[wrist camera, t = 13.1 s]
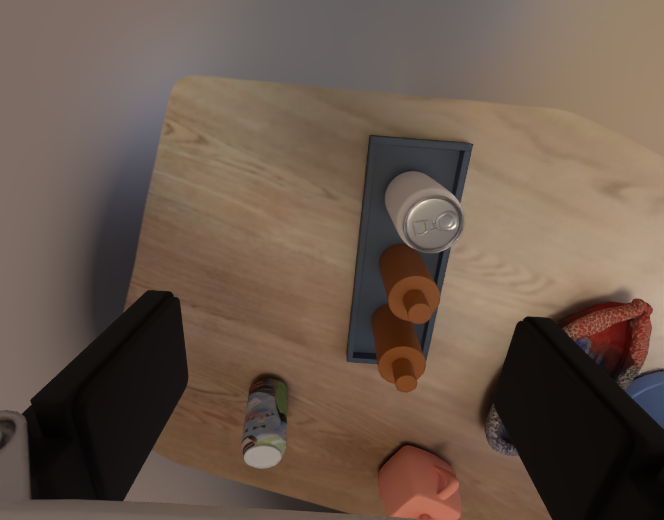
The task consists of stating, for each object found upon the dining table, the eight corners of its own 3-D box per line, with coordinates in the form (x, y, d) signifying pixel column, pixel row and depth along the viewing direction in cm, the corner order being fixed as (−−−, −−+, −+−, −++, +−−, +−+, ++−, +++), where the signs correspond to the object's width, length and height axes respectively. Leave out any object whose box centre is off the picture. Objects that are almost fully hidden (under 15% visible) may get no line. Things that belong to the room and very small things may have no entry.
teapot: (469, 451, 62) (492, 514, 52) (406, 507, 68) (417, 572, 58) (416, 424, 59) (431, 485, 50) (356, 484, 66) (359, 548, 56)
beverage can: (264, 366, 55) (245, 429, 44) (302, 388, 57) (293, 455, 46) (243, 390, 57) (220, 457, 46) (281, 411, 59) (267, 481, 48)
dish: (450, 414, 58) (460, 440, 54) (589, 266, 48) (615, 283, 43) (523, 448, 61) (538, 476, 56) (669, 316, 50) (703, 337, 46)
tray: (369, 135, 42) (371, 136, 40) (467, 142, 42) (473, 144, 40) (346, 353, 54) (346, 362, 52) (421, 358, 54) (424, 367, 52)
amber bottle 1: (381, 241, 46) (396, 287, 34) (424, 244, 46) (453, 291, 34) (376, 280, 49) (388, 335, 37) (417, 283, 49) (442, 339, 37)
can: (440, 214, 45) (473, 248, 34) (390, 227, 46) (406, 264, 34) (431, 163, 42) (463, 182, 31) (378, 178, 43) (392, 201, 32)
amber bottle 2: (373, 301, 50) (384, 361, 38) (413, 304, 50) (436, 365, 38) (369, 335, 52) (378, 401, 40) (407, 337, 52) (427, 405, 40)
